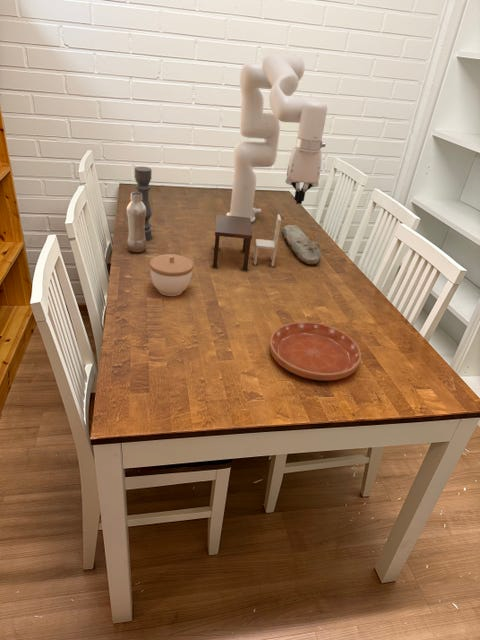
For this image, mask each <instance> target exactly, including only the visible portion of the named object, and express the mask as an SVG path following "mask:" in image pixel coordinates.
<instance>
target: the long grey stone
mask: <svg viewBox="0 0 480 640" xmlns="http://www.w3.org/2000/svg"><path fill="white" fill-rule="evenodd" d="M282 234H283V238H284V239H285V240H286V241H287V245H288V246H289V247H290V249H291V251H292V252H293V253H294V254H295V256H296V257H297V259H298V260H300V262H303V263H304V264H307V265H317V264H319V262H320V261H321V258H322V252H321V250H320V248H319V247H320V246H321V245H320V243H319V242H317V241H312V240H310V239H309V237H308V236H307V235H306V233H305V232H304V231H303V230H301V228H300V226H297V225H295V224H285V226H283V228H282Z"/></svg>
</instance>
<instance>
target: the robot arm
mask: <svg viewBox="0 0 480 640" xmlns="http://www.w3.org/2000/svg"><path fill="white" fill-rule="evenodd" d="M304 73H305V62H304V59H303V57H301V56H300V55H299V54H296V53H287V52H280V51H273V52H270V53H267V54H266V55H265V56H264V57H263V60H262V61H248V62H246V63H244V64H243V65H242V67H241V69H240V73H239V86H240V87H239V88H240V93H241V104H240V105H241V106H240V116H239V117H240V118H239V133H240V135H241V136H242V137H244V138H247V139H262V140H263V141H248V140H247V141H245V140H244V141H240V142H237V144H236V145H235V146H234V148H233V179H232V189H231V197H230V208H229V211H228V212H227V213H226V214H225V215H228V216H238V217H247V218H251V224H252V223H254V222H255V221H256V216H255V215H256V214H261V213H262V209H261V208H256V207H254V202H255V196H256V186H257V175H256V173H255V172H254V170H253V168H269V167H272V166H273V165H275V164H276V160H277V156H278V149H279V148H278V147H279V140H280V131H281V122H283V123H294V124H296V123H297V124H299V125H298V131H297V137H296V143H295V146H293V147H292V150H291V152H290V156H289V160H288V165H287V171H286V178H285V180H284V181H285V183H286V184H287V185H290V186H292V187H293V188H294V190H295V192H294V199H293V200H294V201H295V203H296V205H302V204H303V202H304V201H305V198H306V197H305V196H306V193H307V192H308V190H310V189H311V188H317V187H319V181H320V177H321V169H322V160H323V159H322V158H323V157H322V156H323V154H322V148H326V144H327V143H326V142H324V141H323V136H324V129H325V124H326V118H327V113H328V105H327V103H326V102H323V101H319V100H318V99H316V98H314V97H309V96H301V95H300V96H299V95H298V96H297V95H293V94H294V93H295V92H296V91H297V89H298V87H299V83H300V81H301V80H302V79H303V77H304ZM261 89H264V90H270V91H269V96H268V101H269V102H268V103H269V107H270V110H271V112H264V107H265V98H264V95H263V93H262V91H261ZM301 183H303V184H302V187H300V186H301Z"/></svg>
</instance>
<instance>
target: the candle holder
mask: <svg viewBox="0 0 480 640" xmlns="http://www.w3.org/2000/svg"><path fill="white" fill-rule="evenodd" d="M134 179H135V181H136V182H135V183H136V185H135V189H136V192H139V193H142V198H143V200H142V202H143V204H144V205H145V207H146V217H145V238H146V242H147V241H150V240H151V239H152V228H151V227H152V226H151V223H150V219H151V217H152V208H151V205H150V199H149V193H150V192H149V191H150V190H151V188H152V187H151V185H150V183H151V180H152V168H151V167H149V166H135V167H134Z"/></svg>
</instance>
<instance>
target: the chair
mask: <svg viewBox="0 0 480 640" xmlns="http://www.w3.org/2000/svg"><path fill="white" fill-rule="evenodd" d="M281 224H282V218H281V214H279V213H277V216H276V221H275V227H274V235H273V240H272V239H271V240H269V239H261V238H256V239H255V244H254V249H253V256H252V257H253V265H257V262H258V255H259V254H258V253H259V249H266V250H271V253H270V261H271V265H270V266H271V267H275V260H276V255H277V249H278V243H279V236H280V230H281Z"/></svg>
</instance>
